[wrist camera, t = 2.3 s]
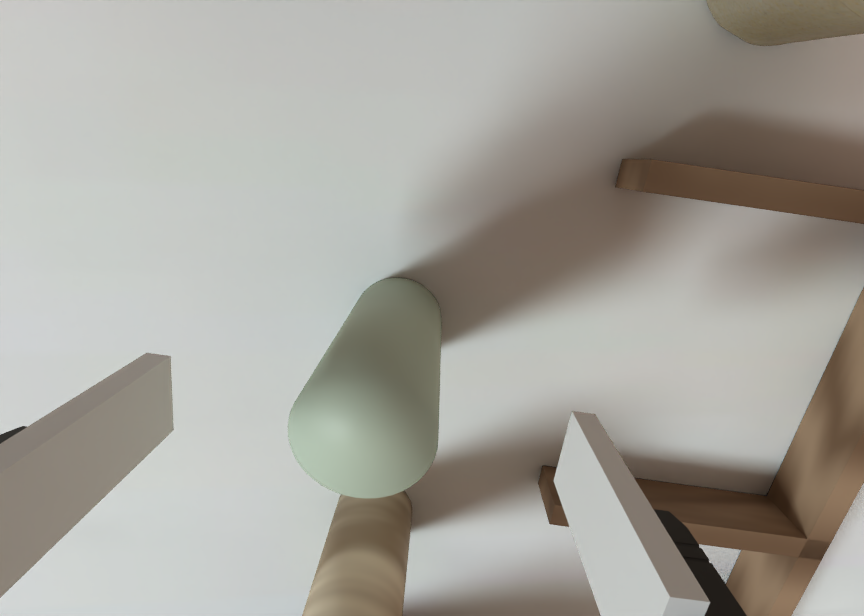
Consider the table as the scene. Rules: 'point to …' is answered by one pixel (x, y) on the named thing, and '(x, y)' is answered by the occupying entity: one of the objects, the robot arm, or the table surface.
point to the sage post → (374, 396)
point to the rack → (814, 440)
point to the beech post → (363, 559)
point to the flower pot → (788, 19)
